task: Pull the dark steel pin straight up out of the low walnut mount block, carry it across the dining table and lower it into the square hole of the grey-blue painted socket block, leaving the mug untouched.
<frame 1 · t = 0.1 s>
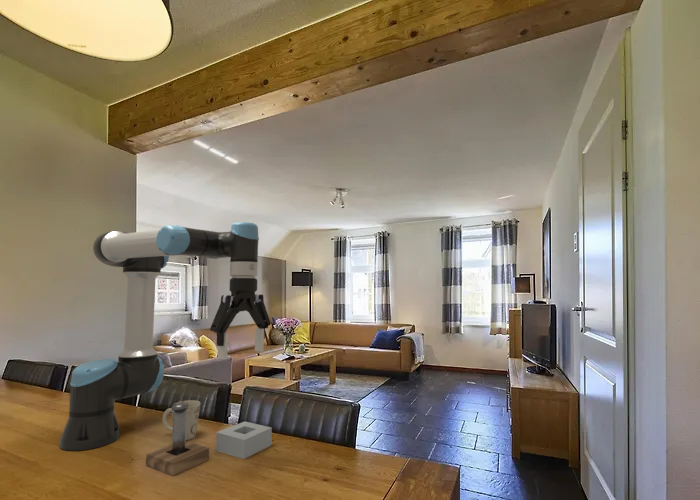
hand: (241, 354, 110), 28 cm above the table, fingers open, 13 cm apart
pin: (179, 433, 106), in the mount
mount: (178, 462, 106), on the table
socket: (244, 447, 115), on the table
mug: (179, 437, 124), on the table
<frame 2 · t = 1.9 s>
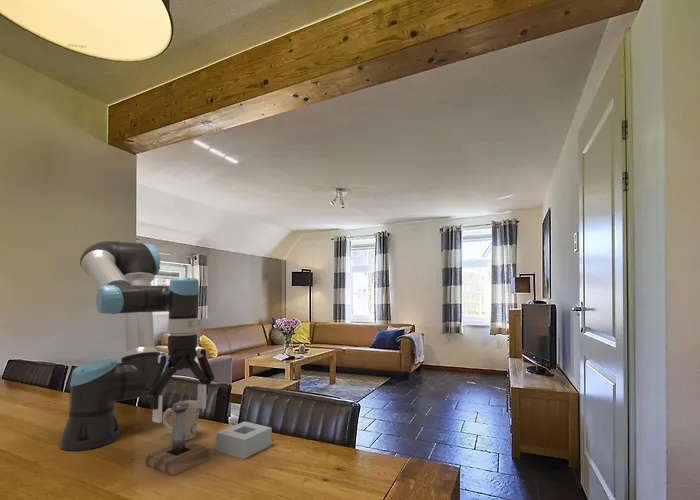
hand: (180, 414, 107), 12 cm above the table, fingers open, 13 cm apart
nothing on the table moved.
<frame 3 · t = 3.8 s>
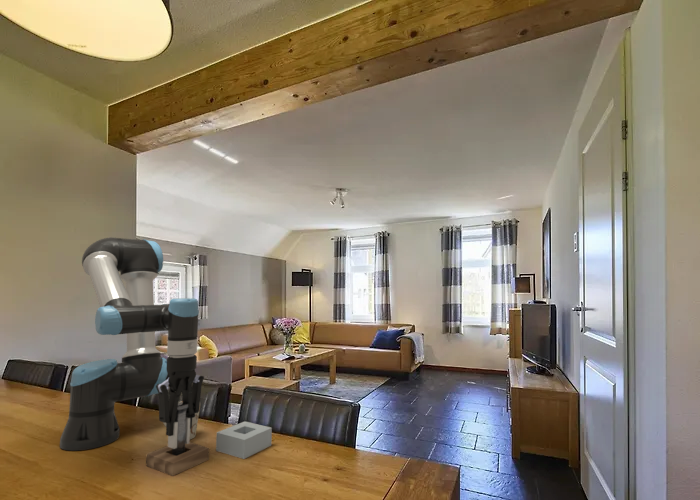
hand: (178, 444, 106), 5 cm above the table, fingers closed on pin, 3 cm apart
pin: (179, 433, 106), in the mount, touching gripper
everything else where it was.
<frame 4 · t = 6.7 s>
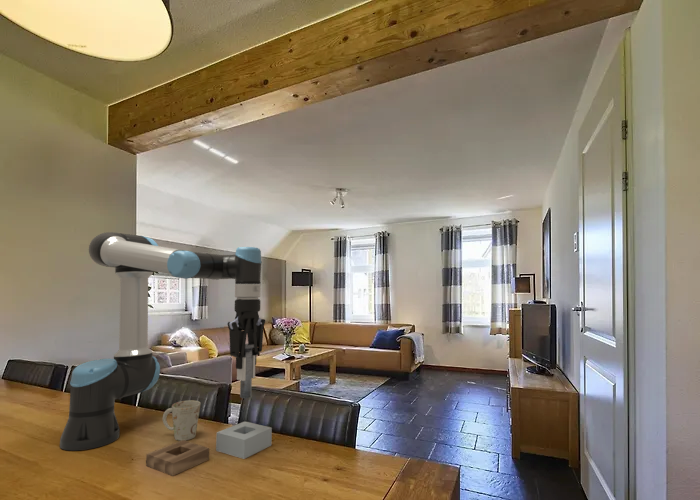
hand: (245, 378, 117), 20 cm above the table, fingers closed on pin, 3 cm apart
pin: (246, 370, 117), point 22 cm above the table, touching gripper
everything else where it was.
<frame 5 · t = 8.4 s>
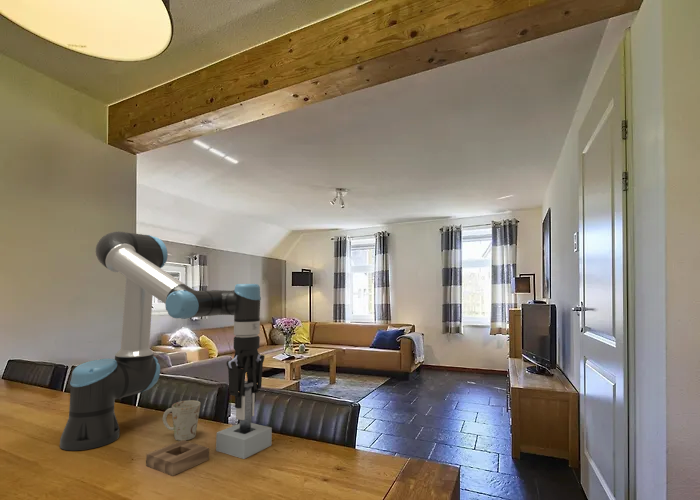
hand: (245, 417, 116), 9 cm above the table, fingers closed on pin, 3 cm apart
pin: (245, 408, 116), point 11 cm above the table, touching gripper
everything else where it was.
when the fingers open (7 cm above the table, at t = 9.5 s): pin drops 1 cm, resting in socket.
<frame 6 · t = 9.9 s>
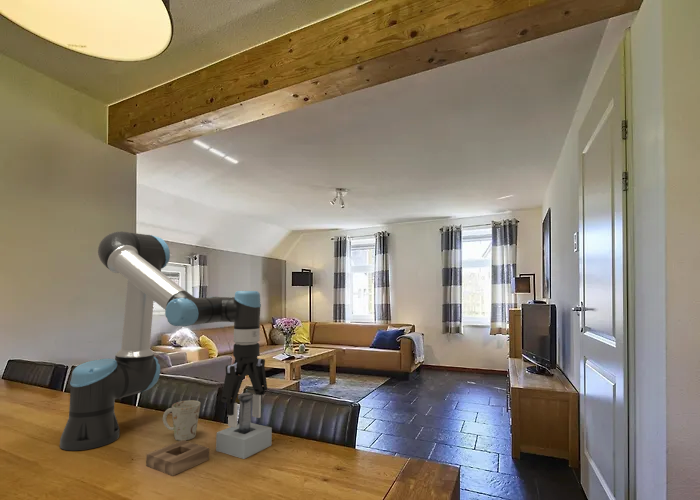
hand: (244, 421, 116), 7 cm above the table, fingers open, 9 cm apart
pin: (244, 421, 116), in the socket
everything else where it was.
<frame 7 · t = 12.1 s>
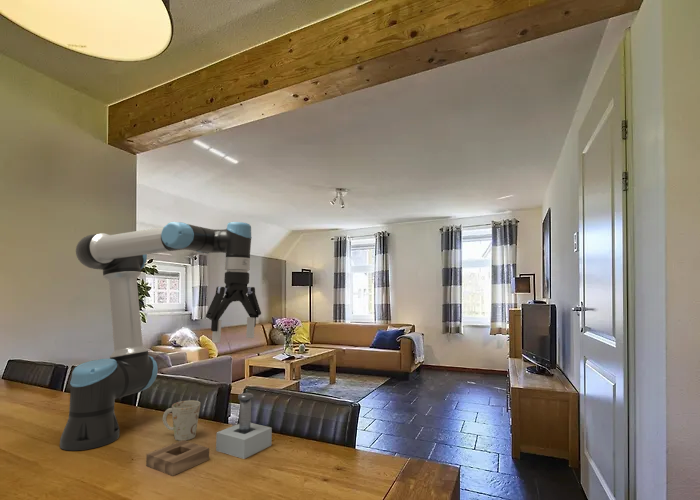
hand: (233, 340, 123), 30 cm above the table, fingers open, 13 cm apart
nothing on the table moved.
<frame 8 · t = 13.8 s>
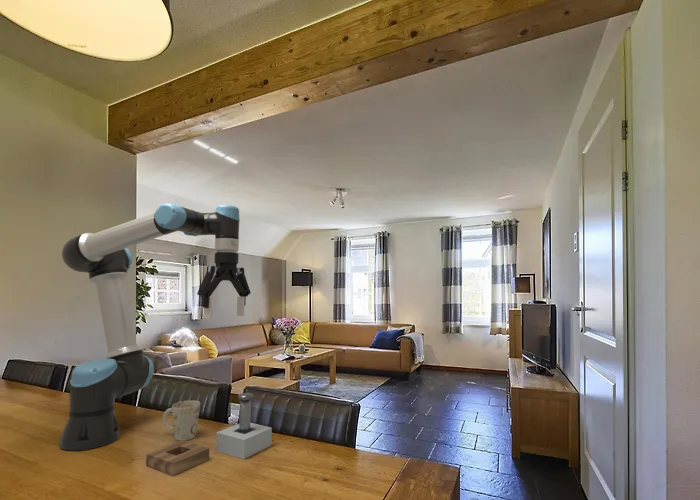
hand: (224, 317, 129), 37 cm above the table, fingers open, 13 cm apart
nothing on the table moved.
at the end: pin 0.0 cm off-centre on the socket, point 7.5 cm above the socket's base; pin tilted 0°; the gripper is holding nothing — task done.
